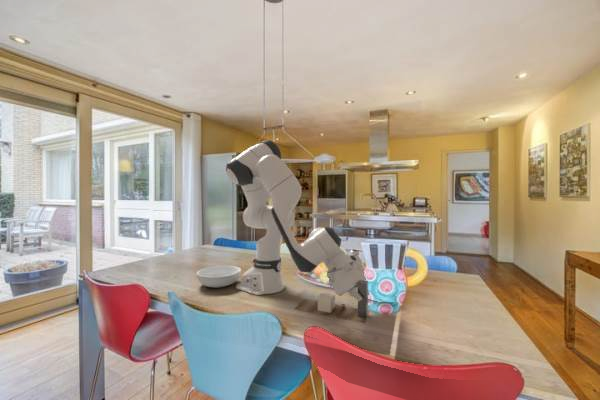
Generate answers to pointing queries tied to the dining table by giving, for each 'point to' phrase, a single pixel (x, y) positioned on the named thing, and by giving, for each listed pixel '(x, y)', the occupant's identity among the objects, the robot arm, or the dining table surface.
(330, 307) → the cream cube
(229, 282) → the serving bowl
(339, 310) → the walnut strip
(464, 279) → the dining table surface
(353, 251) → the plastic bottle
